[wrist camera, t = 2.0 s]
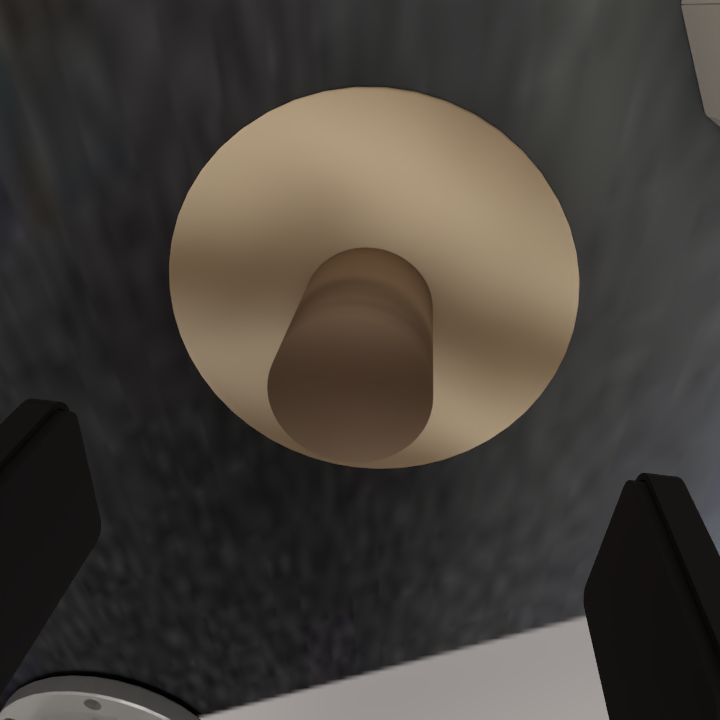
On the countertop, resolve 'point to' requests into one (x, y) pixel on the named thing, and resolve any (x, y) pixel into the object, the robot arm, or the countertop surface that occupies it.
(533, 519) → the countertop surface
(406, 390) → the lid
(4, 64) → the countertop surface
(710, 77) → the pot
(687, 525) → the robot arm
